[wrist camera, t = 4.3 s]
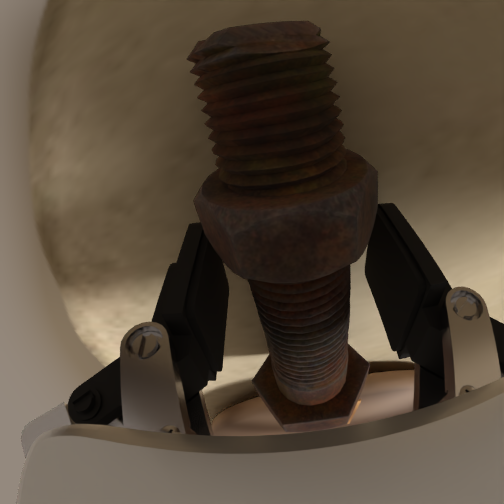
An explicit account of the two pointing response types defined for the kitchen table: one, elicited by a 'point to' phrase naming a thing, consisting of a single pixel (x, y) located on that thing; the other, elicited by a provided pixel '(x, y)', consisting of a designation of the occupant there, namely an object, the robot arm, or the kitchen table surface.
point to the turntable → (366, 410)
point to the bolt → (287, 210)
